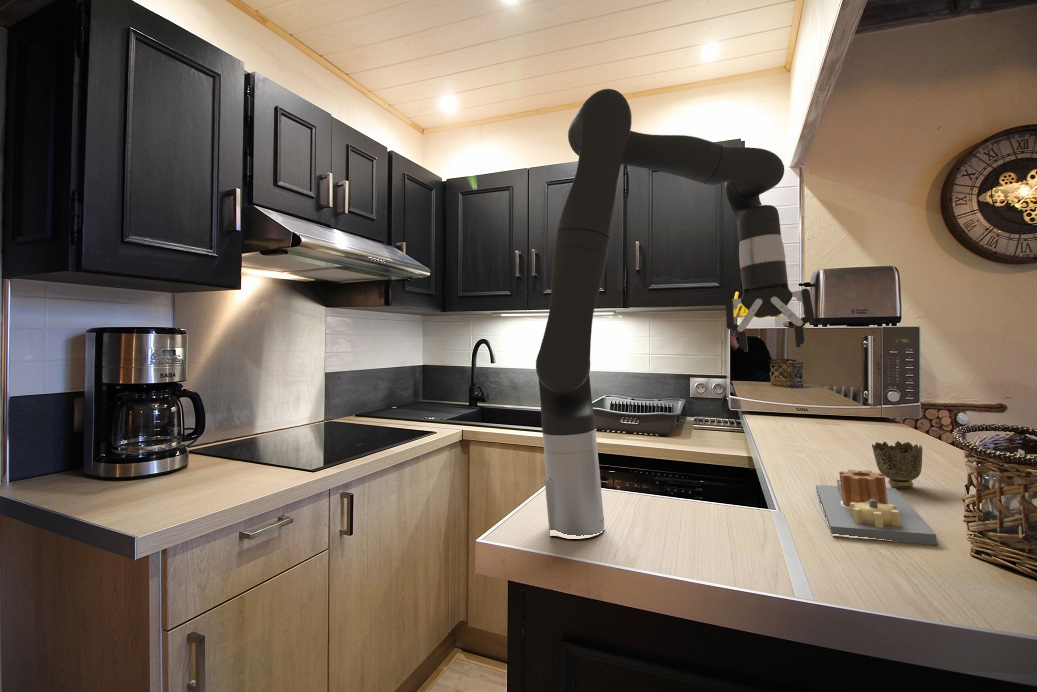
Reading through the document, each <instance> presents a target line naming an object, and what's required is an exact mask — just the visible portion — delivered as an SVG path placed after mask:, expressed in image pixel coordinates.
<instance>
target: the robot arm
mask: <svg viewBox="0 0 1037 692" xmlns="http://www.w3.org/2000/svg"><path fill="white" fill-rule="evenodd" d="M632 116H633V115H632V109H631V107H630V104H629V103H628V100H627V99H626V97H624V95H623V94H622V93H621V92H620V91H619V90H615V89H613V88H603V89H600V90H597V91H596V92H594V93H593V94H591V95H590V96H589V97H588V98H587V99H586V100H585V101H584V102H583V103H582V105H581V106H580V108H579V109H578V111H577V113H576V115H574V118H573V119H572V120H571V123H570V125H569V126H568V127H569V128H568V133H567V139H568V143H569V146H570V148H571V149H572V151H573V152H574V154H575V155H577V156H578V161H577V166H576V170H575V175H574V178H573V181H572V184H571V187H570V189H569V193H568V194H567V198H566V199H565V203H564V206H563V209H562V211H561V215H560V218H559V222H558V225H557V231H556V236H555V237H556V238H555V241H554V251H553V258H552V269H551V281H550V282H551V286H550V305H549V312H548V317H547V322H546V325H545V329H544V332H543V337H542V340H541V344H540V348H539V351H538V353H537V356H536V359H535V370H536V371H535V372H536V375H537V378H538V386H539V387H538V388H539V398H540V399H539V400H540V418H541V419H540V420H541V430H542V431H541V432H542V441H543V452H544V464H545V475H546V477H545V479H544V486H545V499H546V509H547V510H546V511H547V523H548V531H549V530H556V531H558V532H561V533H563V534H567V535H576V536H581V535H583V536H584V535H593V534H597V533H600V532H601V531H603V529H604V527H605V516H604V507H603V497H602V486H601V485H602V483H601V473H600V463H599V462H600V461H599V451H598V443H597V431H596V421H595V420H596V419H595V412H594V411H595V410H594V406H593V400H592V399H593V398H592V389H591V388H592V387H591V378H590V376H591V375H590V372H591V342H592V332H593V331H592V329H593V319H594V312H595V308H596V304H597V301H598V297H599V294H600V290H601V287H602V283H603V279H604V275H605V270H606V267H607V259H608V255H609V249H610V244H611V243H610V241H611V233H612V227H613V226H612V225H613V220H614V219H613V218H614V212H615V207H616V197H617V192H618V191H617V190H618V181H619V176H620V172H621V171H620V170H621V167H622V165H623V166H629V167H635V168H642V169H647V170H652V171H658V172H661V173H665V174H669V175H670V174H671V175H672V176H673V175H675V176H678V177H681V178H684V179H686V180H690V181H693V182H698V183H701V184H704V185H707V186H716V185H717V186H718V185H719V184H723V183H725V184H724V193H725V195H726V198H727V202H728V204H729V206H730V209H731V212H732V214H733V217H734V218H735V220H736V223H737V235H738V243H739V245H738V246H739V248H738V250H739V251H738V258H739V268H740V278H741V284H742V285H741V286H742V287H741V288H742V296H741V298H730V297H729V298H727V299H726V300H725V315H726V316H725V318H726V319H725V321H726V328H727V329H728V330H731V331H735V332H736V333H737V337H738V338H737V339H738V347H739V348H740V349H741V350H742V349H743V352H749V347H748V346H749V345H748V337H747V331H746V328H747V327H748V326H749V324H750V322H751V321H752V320H753V319H754V317H755V318H757V319H762V318H763V319H764V318H767V317H778V316H780V315H781V314H782V315H783V316H784V317H785V318H787V320H789V321H790V322H791V323H792V324H793V325H794V327H793V336H794V337H793V338H794V348H795V349H799V348H801V345H804V343H805V334H804V326H805V325H806V324H808V323H810V322H813V321H814V320H815V313H814V307H813V303H812V297H811V291H810V290H809V289H808V288H803V289H800V290H796V291H791V290H790V288H789V281H788V271H787V263H786V262H787V261H786V254H785V253H786V252H785V247H784V246H785V245H784V243H783V242H784V241H783V238H782V231H781V222H780V213H779V210H778V209H777V207H775V205H772V204H762V202H761V199H760V195H762V194H764V193H766V192H768V191H769V190H771V189H774V188H775V187H776V186H777V185H779V184H780V182H781V181H782V179H783V177H784V174H785V165H784V162H783V161H782V159H781V157H779V155H777V154H776V153H774V152H772V151H771V150H768V149H765V148H760V147H749V146H748V147H746V146H726V145H724V144H723V145H722V144H719V143H717V142H714V141H711V140H708V139H705V138H701V137H698V136H692V135H684V134H683V135H681V134H651V133H649V134H648V133H643V132H638V131H633V130H631V129H632V123H633V122H632V121H633V119H632V118H633V117H632ZM793 298H795V299H796V301H797V302H799V303H802V309H803V313H804V314H803V315H804V316H803V317H799V316H798V315H797V314H796V313H795V312H794V311H792V310H791V309H790V308H789V307H788V305H789V304H790V302H791V300H792V299H793ZM739 305H742V306H743V307H744V308H745V309H746V310H747V312H746V313H745V315H744V317H743V318H742V320H741V321H740V323H739V324H736V323H735V315H734V314H735V312H734V311H735V310H738V307H739Z"/></svg>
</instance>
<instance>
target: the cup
mask: <svg viewBox="0 0 1037 692" xmlns="http://www.w3.org/2000/svg"><path fill="white" fill-rule="evenodd" d="M871 444H872V445H871V447H872V451H873V456H874V460H875V463H876V466H877V468H878V471H879V473H882V474H883V475H884V476H885V478H887V479H888V481H887V482H888V484H889V486H890V488H895V489H897V490H898V489H899V490H909V489H912V488H913V487H914V482H913V481H914V480H916V479H917V478H918V477H920V475H921V473H922V468H923V446H922V445H921V444H920V445H918V444H914V445H913V444H912V443H911V442H909V441H907V442H904V443H902V442H901V441H899V440H897V441H896V442H895V443H894V445H892V444H891V445H889V444H888V442H886V441H883V442H882V443H881V442H875V444H873V443H871Z"/></svg>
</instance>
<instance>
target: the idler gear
mask: <svg viewBox="0 0 1037 692" xmlns="http://www.w3.org/2000/svg"><path fill="white" fill-rule="evenodd" d="M839 478H840V482H841V491H842V500H843V505H845V506H850V503H851V502H855V503H861V502H866V501H869V499H874V500H877V503H881V504H885V505H887V504H888V501H887V492H886V488H887V485H886V477H885V476H884V475H883V474H882V473H881V472H873V471H872V470H868V469H865V470H856V469H848V471H844V470H841V471H839Z"/></svg>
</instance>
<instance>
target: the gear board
mask: <svg viewBox="0 0 1037 692" xmlns="http://www.w3.org/2000/svg"><path fill="white" fill-rule="evenodd" d="M836 484H837V485H827V484H826V485H825V484H822V485H821V484H815V490H817V491H816V494H817V493H818V495H817V497H818V496H819V498H818V500H819V499H820V501H819V503H820V502H821V504H822V507H823V510H824V512H823V514H824V513H825V515H824V517H825V516H826V518H827V521H828V524H829V527H830V530H831V532H830V534H831V533H832V534H839V535H849V536H858V537H868V538H876V539H884V540H885V539H886V540H892V541H898V542H897V543H903V542H907V543H906V544H914V543H916V544H917V545H928V546H929V545H930V546H938V539H937V534H936V533H935V532H934V530H933V529H932V528H931V526H929V525H928V524H927V523H926V521H925V520H924V519H923V518H922V517H921V515H920V514H918V512H917V511H916V510H915V509H914V508H913V507H912V506H911V504H910V503H909V502H908V501H907V500H906V498H904V496H903V495H901V493H900V492H899V491H898V489H897V488H894V487H886V492H887V501H888V504H887V505H885V504H881V503H877V500H874V499H869V501H866V502H861V503H855V502H851V503H850V506H845V505H843V500H842V491H841V482H840V477H839V478H837V479H836ZM821 504H820V505H821ZM822 507H821V508H822ZM823 510H822V511H823ZM826 518H825V519H826ZM827 521H826V522H827ZM828 524H827V525H828ZM829 527H828V528H829ZM830 530H829V531H830ZM916 544H915V545H916Z"/></svg>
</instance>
